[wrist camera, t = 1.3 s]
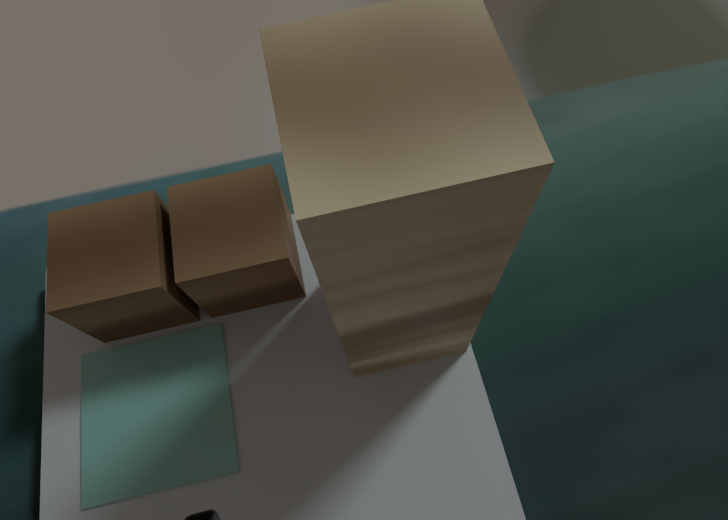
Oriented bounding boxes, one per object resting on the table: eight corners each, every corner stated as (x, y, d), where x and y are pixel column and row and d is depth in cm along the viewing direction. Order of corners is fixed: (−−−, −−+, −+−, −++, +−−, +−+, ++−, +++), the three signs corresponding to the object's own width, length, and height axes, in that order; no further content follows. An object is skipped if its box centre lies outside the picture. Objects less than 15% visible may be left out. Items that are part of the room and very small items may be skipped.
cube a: (199, 320, 22) (160, 286, 18) (104, 343, 22) (45, 312, 18) (191, 236, 24) (154, 189, 20) (102, 257, 24) (48, 213, 20)
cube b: (306, 296, 22) (288, 257, 19) (211, 318, 22) (175, 283, 19) (290, 214, 24) (271, 163, 20) (202, 234, 24) (167, 186, 20)
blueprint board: (610, 809, 16) (623, 830, 15) (48, 961, 16) (24, 993, 15) (420, 196, 25) (420, 184, 24) (59, 278, 24) (44, 268, 23)
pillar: (466, 351, 21) (554, 161, 9) (354, 377, 21) (295, 220, 9) (435, 249, 23) (474, -17, 11) (332, 273, 23) (258, 29, 11)
